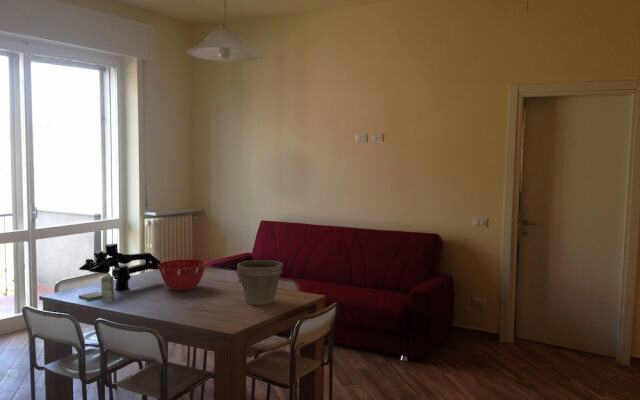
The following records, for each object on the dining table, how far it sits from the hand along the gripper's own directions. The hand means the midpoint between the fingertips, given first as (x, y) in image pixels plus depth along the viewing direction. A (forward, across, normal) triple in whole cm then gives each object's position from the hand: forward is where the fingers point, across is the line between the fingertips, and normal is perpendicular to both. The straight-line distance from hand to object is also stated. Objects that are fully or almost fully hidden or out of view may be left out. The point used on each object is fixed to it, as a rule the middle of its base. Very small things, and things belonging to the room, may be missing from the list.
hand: (84, 269), depth 310 cm
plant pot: (-48, +86, +22) cm, 101 cm away
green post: (-3, +14, +17) cm, 22 cm away
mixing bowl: (-46, +27, +21) cm, 57 cm away
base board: (-2, +2, +17) cm, 17 cm away
